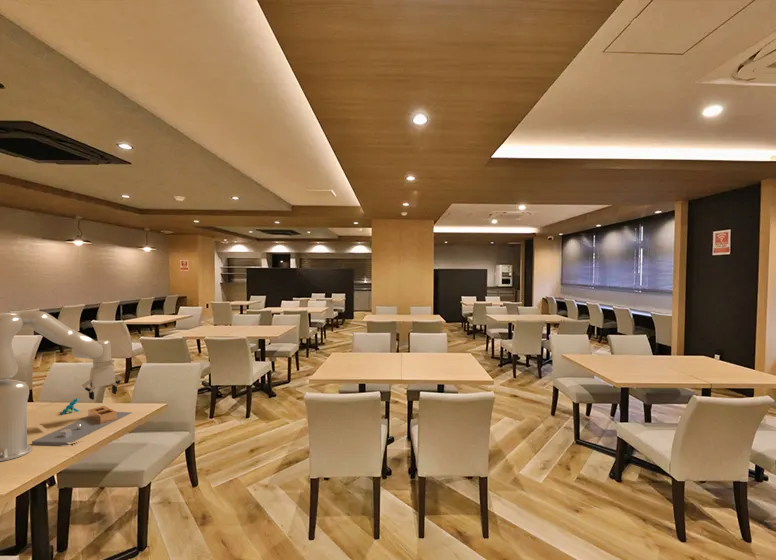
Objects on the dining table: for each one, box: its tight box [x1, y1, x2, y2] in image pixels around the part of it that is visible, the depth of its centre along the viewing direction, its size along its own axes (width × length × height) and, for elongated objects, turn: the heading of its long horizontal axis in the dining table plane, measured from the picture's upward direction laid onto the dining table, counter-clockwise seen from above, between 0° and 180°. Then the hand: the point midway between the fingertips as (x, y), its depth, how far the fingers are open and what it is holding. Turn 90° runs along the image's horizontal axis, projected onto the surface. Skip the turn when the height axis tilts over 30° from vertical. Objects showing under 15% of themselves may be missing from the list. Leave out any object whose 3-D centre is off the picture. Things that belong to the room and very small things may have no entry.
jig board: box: [31, 411, 134, 446], centre depth 182 cm, size 36×19×4 cm, turn 177°
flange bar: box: [87, 405, 118, 424], centre depth 191 cm, size 16×7×4 cm, turn 57°
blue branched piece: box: [60, 397, 80, 416], centre depth 202 cm, size 11×6×10 cm
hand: (103, 396), depth 192 cm, fingers open, 9 cm apart
